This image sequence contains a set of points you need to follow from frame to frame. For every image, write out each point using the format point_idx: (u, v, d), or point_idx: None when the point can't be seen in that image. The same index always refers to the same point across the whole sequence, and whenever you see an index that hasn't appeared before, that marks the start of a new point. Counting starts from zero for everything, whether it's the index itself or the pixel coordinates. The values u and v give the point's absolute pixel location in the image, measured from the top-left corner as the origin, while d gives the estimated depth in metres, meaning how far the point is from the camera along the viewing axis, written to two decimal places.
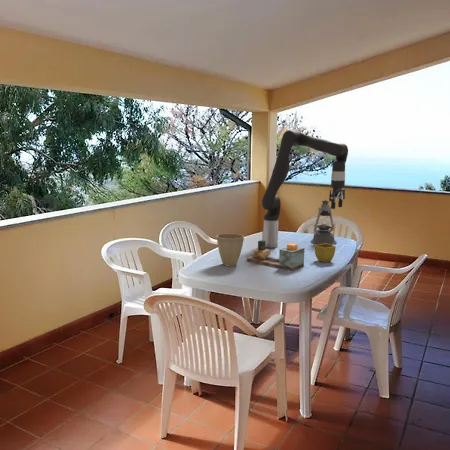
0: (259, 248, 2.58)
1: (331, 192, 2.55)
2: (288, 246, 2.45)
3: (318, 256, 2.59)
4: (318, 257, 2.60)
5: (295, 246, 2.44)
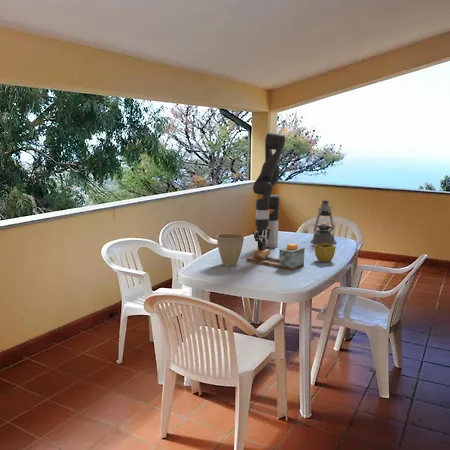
0: None
1: (254, 234, 2.53)
2: (288, 246, 2.45)
3: (318, 256, 2.59)
4: (318, 257, 2.60)
5: (295, 246, 2.44)
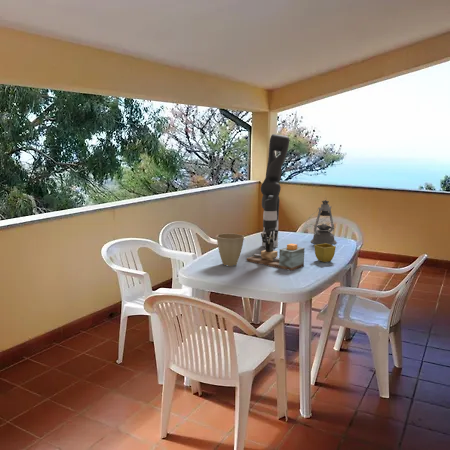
0: None
1: (262, 235, 2.50)
2: (288, 246, 2.45)
3: (318, 256, 2.59)
4: (318, 257, 2.60)
5: (295, 246, 2.44)
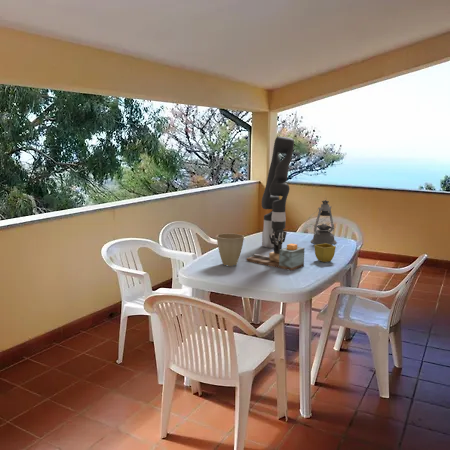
0: None
1: (271, 237, 2.46)
2: (288, 246, 2.45)
3: (318, 256, 2.59)
4: (318, 257, 2.60)
5: (295, 246, 2.44)
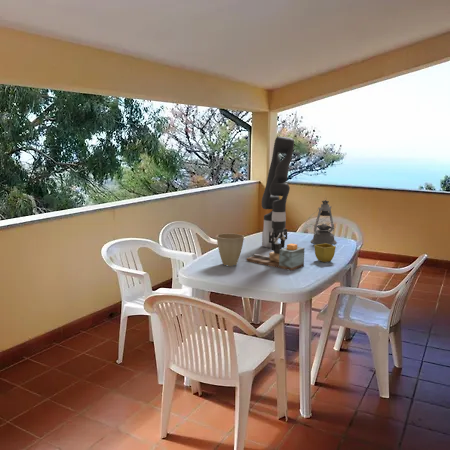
0: (275, 251, 2.51)
1: (270, 234, 2.45)
2: (288, 246, 2.45)
3: (318, 256, 2.59)
4: (318, 257, 2.60)
5: (295, 246, 2.44)
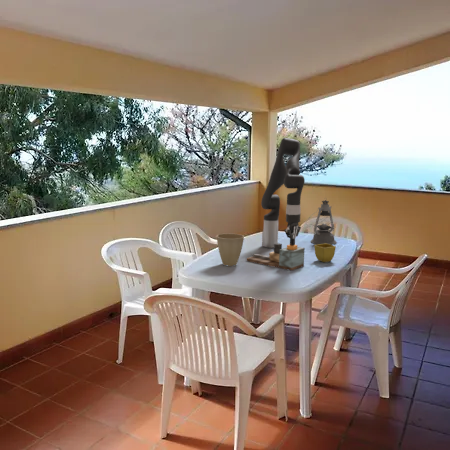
0: (275, 251, 2.51)
1: (286, 231, 2.40)
2: (288, 247, 2.45)
3: (318, 256, 2.59)
4: (318, 257, 2.60)
5: (295, 247, 2.45)
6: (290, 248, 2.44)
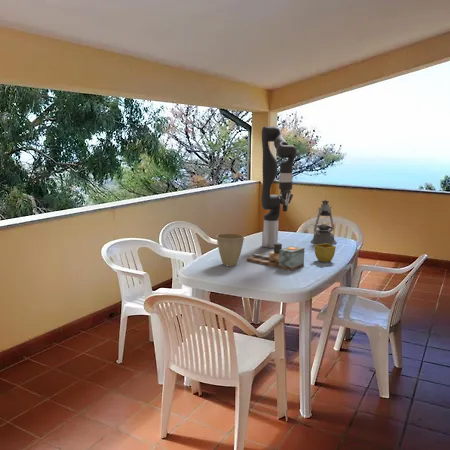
0: (275, 251, 2.51)
1: (279, 198, 2.58)
2: None
3: (318, 256, 2.59)
4: (318, 257, 2.60)
5: None
6: None
